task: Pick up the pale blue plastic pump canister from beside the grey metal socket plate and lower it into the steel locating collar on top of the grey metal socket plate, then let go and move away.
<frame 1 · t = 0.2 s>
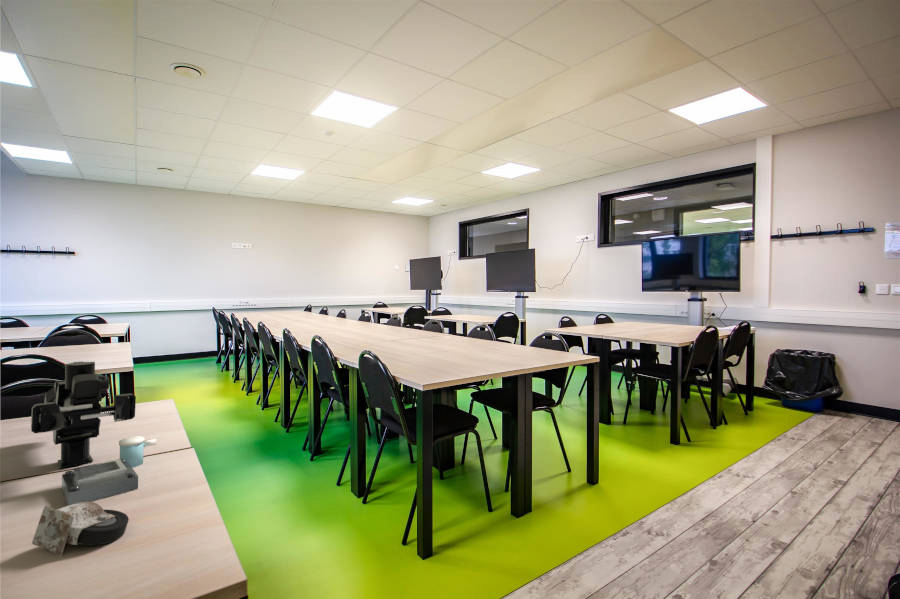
hand: (92, 420, 96), 16 cm above the table, tool horizontal, fingers open, 9 cm apart
grey metal socket plate: (99, 488, 98), on the table
pump canister: (131, 464, 112), on the table
caster wheel: (87, 541, 78), on the table
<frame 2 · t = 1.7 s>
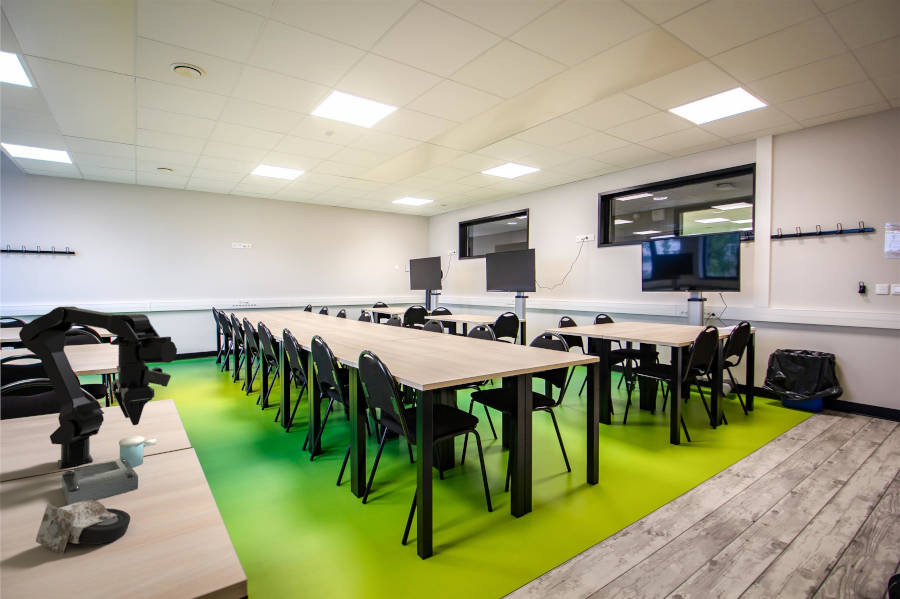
hand: (131, 421, 112), 11 cm above the table, tool pointing down, fingers open, 9 cm apart
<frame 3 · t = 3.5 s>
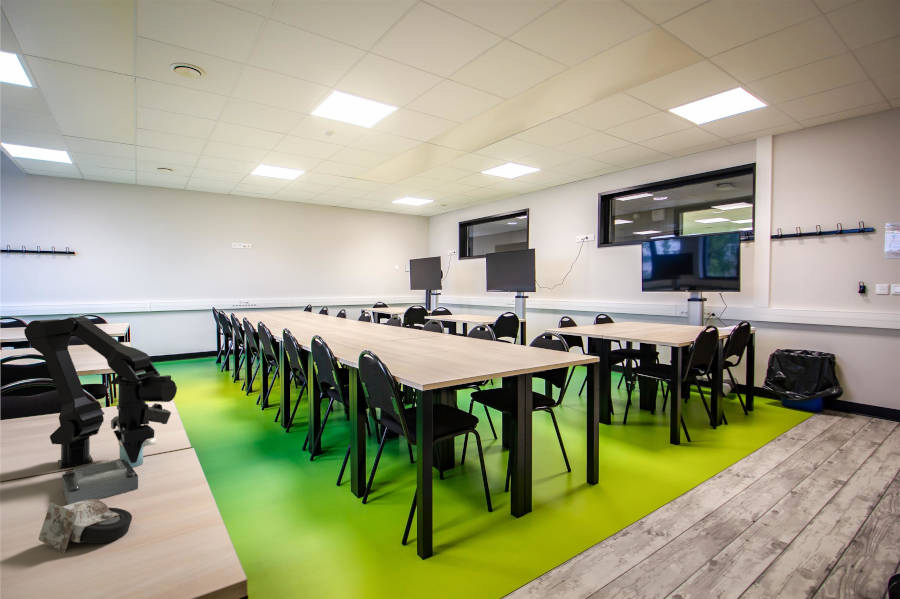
hand: (131, 459, 112), 1 cm above the table, tool pointing down, fingers closed on pump canister, 5 cm apart
pump canister: (131, 464, 112), on the table, touching gripper
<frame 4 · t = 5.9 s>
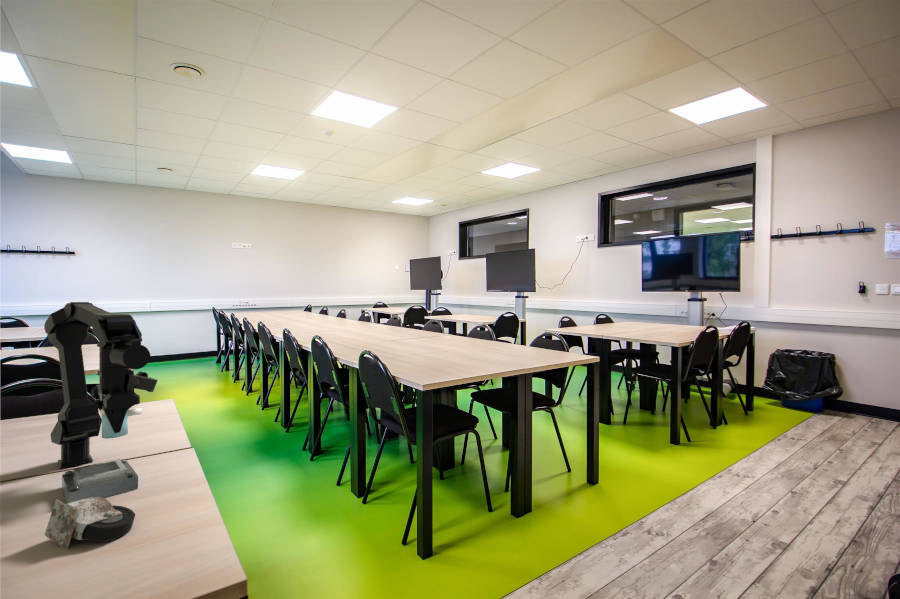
hand: (114, 430, 103), 12 cm above the table, tool pointing down, fingers closed on pump canister, 5 cm apart
pump canister: (115, 435, 103), point 11 cm above the table, touching gripper
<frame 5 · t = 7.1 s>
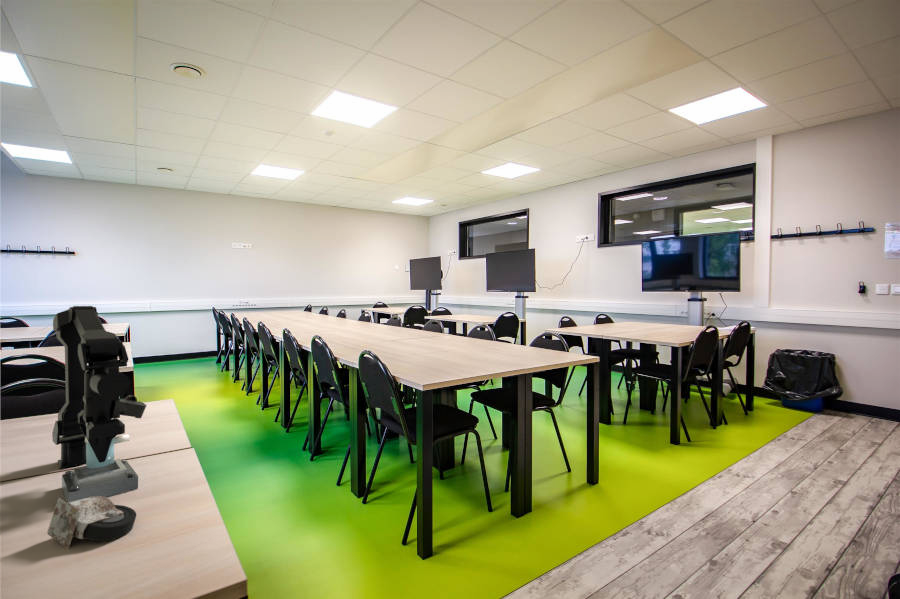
hand: (100, 458, 98), 7 cm above the table, tool pointing down, fingers closed on pump canister, 5 cm apart
pump canister: (100, 463, 98), point 6 cm above the table, touching gripper
when the fingers open (6 cm above the table, at t = 8.1 s): pump canister drops 1 cm, resting on grey metal socket plate.
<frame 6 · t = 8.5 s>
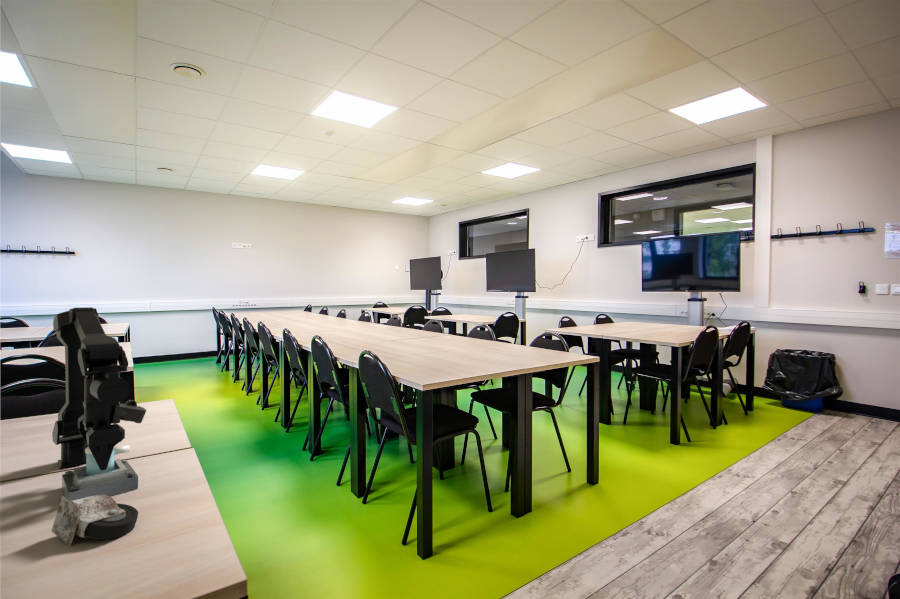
hand: (100, 463, 98), 6 cm above the table, tool pointing down, fingers open, 9 cm apart
pump canister: (100, 475, 98), point 3 cm above the table, touching grey metal socket plate
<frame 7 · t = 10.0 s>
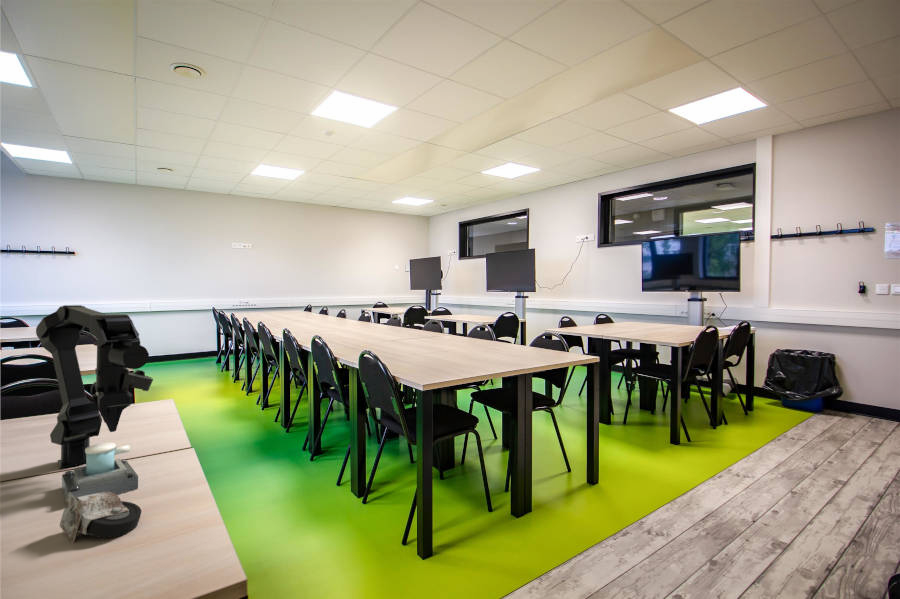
hand: (110, 426, 106), 12 cm above the table, tool pointing down, fingers open, 9 cm apart
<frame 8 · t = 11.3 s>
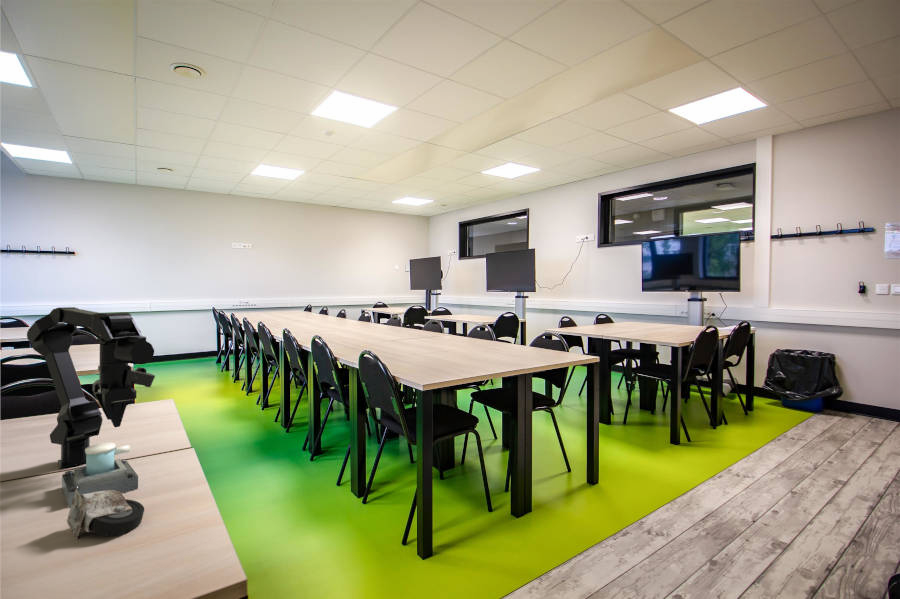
hand: (113, 423, 108), 12 cm above the table, tool pointing down, fingers open, 9 cm apart
at the end: pump canister 0.1 cm off-centre on the grey metal socket plate, point 3.0 cm above the grey metal socket plate's base; pump canister tilted 0°; the gripper is holding nothing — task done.
